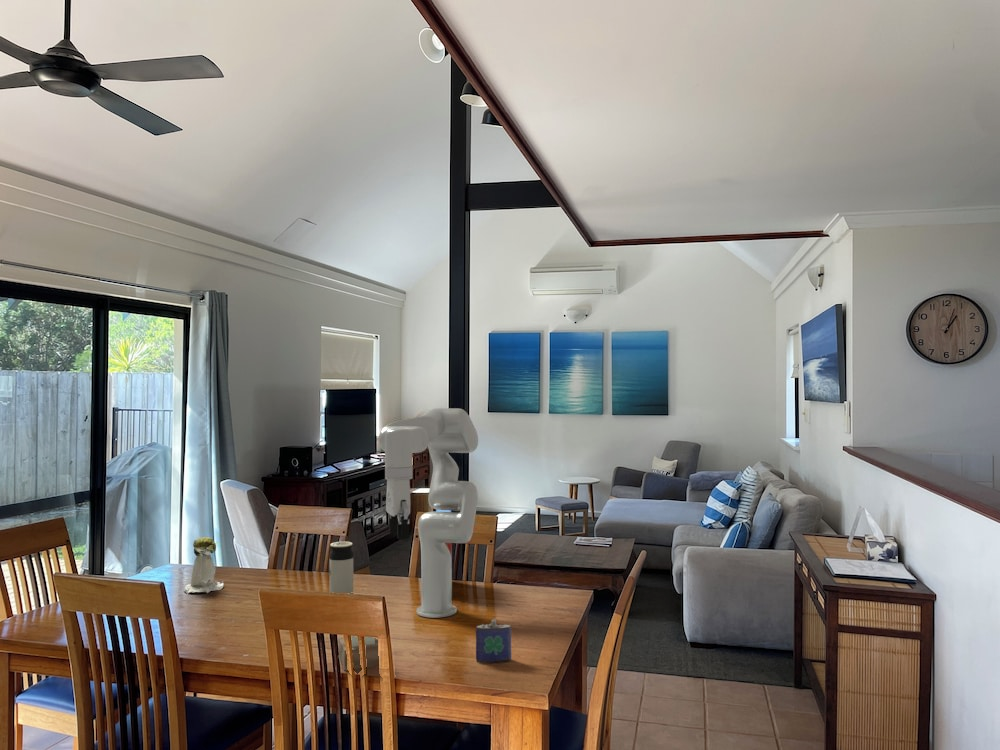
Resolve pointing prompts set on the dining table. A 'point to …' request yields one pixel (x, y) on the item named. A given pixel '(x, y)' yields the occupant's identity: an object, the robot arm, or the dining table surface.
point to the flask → (493, 643)
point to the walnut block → (370, 654)
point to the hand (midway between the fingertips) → (399, 535)
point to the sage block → (367, 641)
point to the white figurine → (203, 567)
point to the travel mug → (341, 567)
